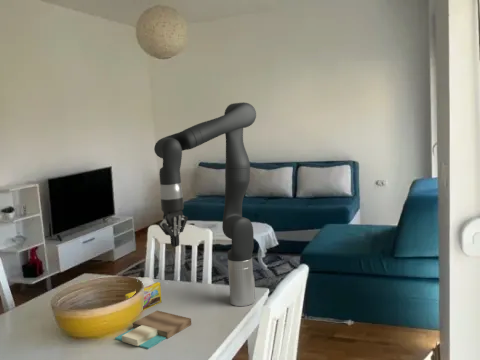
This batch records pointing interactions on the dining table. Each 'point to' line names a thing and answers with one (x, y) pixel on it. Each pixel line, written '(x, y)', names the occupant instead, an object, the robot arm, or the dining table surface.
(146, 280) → the cat figurine
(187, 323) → the wooden board
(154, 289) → the candy box
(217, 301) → the dining table surface
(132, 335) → the tile
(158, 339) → the mat
